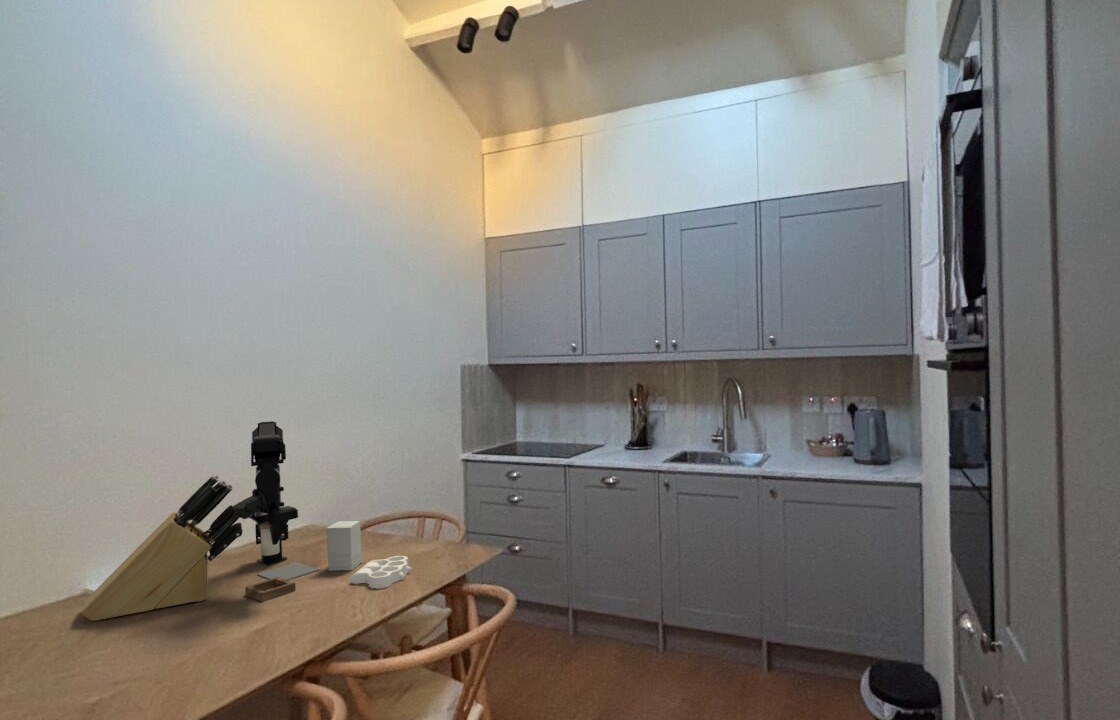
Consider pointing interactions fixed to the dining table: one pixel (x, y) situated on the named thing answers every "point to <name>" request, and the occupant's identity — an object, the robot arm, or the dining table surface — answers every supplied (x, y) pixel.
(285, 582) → the pocket frame
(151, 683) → the dining table surface
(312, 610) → the dining table surface
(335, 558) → the supplement box
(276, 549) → the jar
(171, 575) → the knife block
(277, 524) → the robot arm
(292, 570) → the mat
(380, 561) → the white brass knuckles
